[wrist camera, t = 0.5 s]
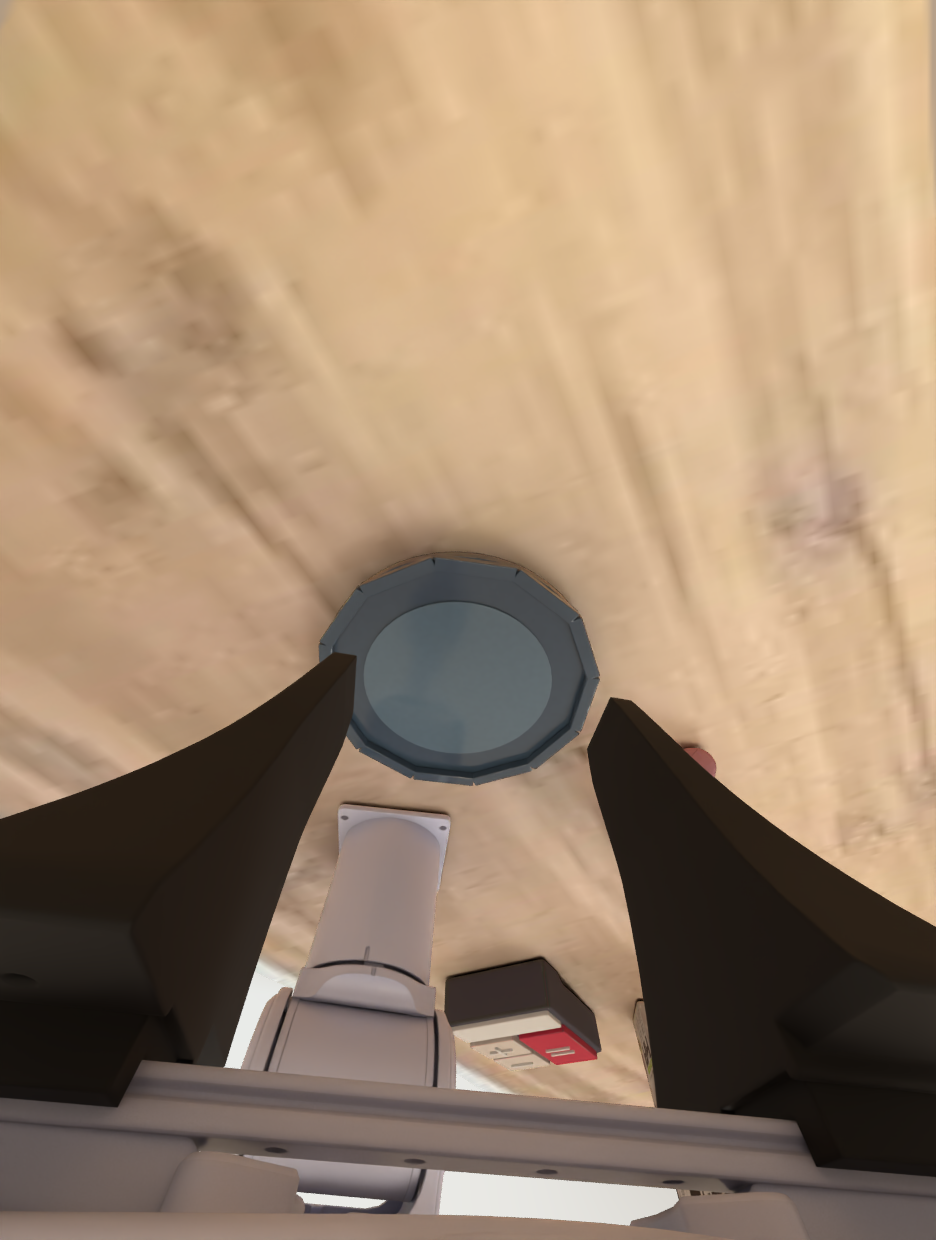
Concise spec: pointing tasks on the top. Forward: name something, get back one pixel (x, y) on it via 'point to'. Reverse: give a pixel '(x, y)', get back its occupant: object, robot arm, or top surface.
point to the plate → (463, 668)
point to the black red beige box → (521, 1017)
